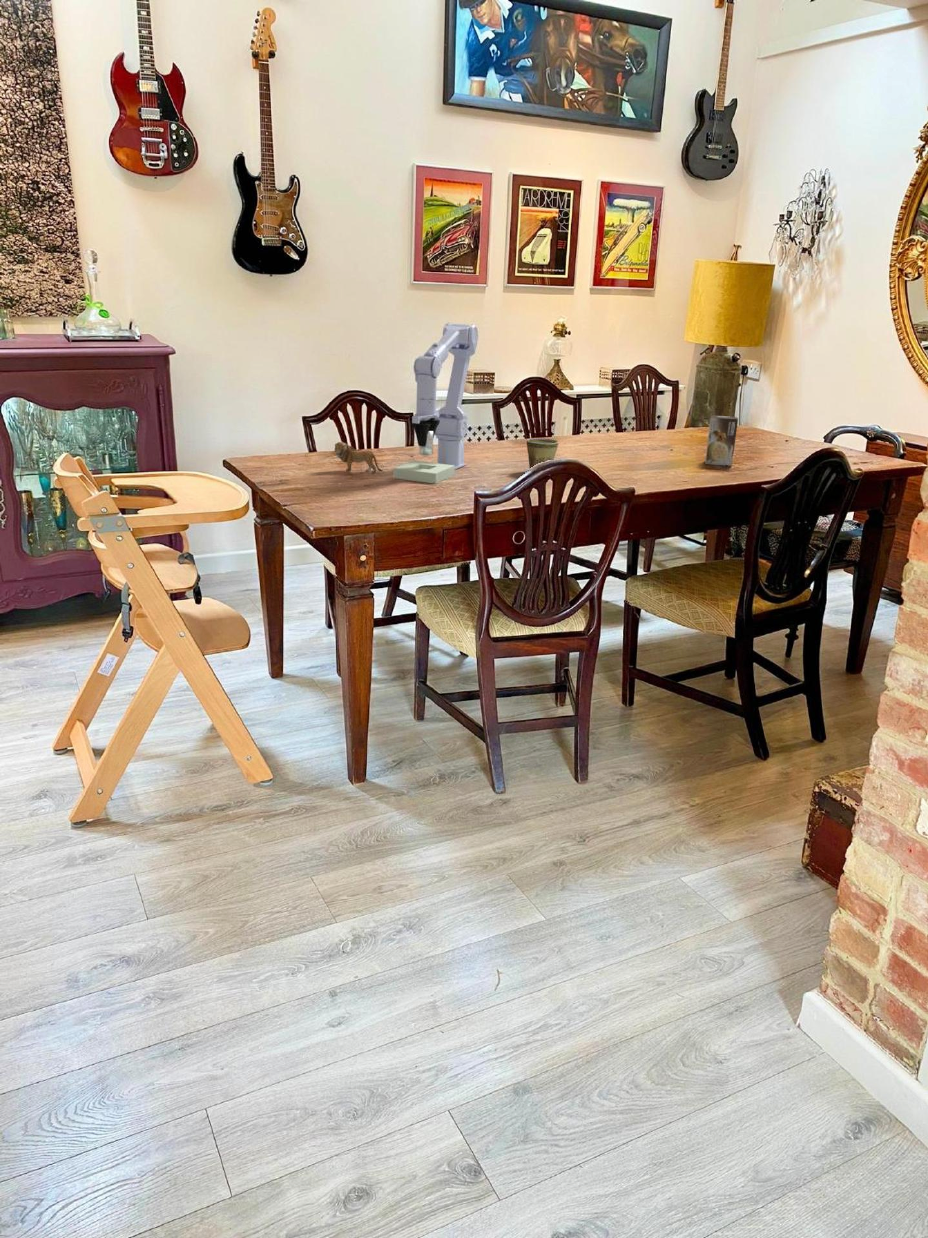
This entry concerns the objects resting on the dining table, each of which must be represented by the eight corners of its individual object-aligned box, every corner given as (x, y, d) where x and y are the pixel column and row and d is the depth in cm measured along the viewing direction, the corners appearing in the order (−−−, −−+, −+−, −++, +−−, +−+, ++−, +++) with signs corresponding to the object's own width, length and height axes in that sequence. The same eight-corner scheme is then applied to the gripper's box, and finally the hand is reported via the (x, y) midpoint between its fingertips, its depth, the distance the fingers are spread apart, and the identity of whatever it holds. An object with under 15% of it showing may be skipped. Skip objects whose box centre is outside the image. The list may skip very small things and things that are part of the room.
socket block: (413, 469, 273) (414, 460, 272) (454, 475, 268) (455, 465, 267) (393, 477, 261) (393, 467, 260) (435, 483, 256) (436, 473, 255)
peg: (421, 452, 264) (422, 429, 262) (434, 453, 263) (435, 430, 261) (417, 454, 261) (418, 431, 258) (430, 456, 260) (430, 432, 257)
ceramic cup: (554, 476, 272) (556, 444, 269) (522, 474, 274) (524, 442, 270) (558, 468, 284) (560, 437, 281) (528, 466, 286) (530, 435, 282)
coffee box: (731, 463, 306) (738, 416, 301) (731, 466, 301) (739, 419, 295) (704, 460, 308) (710, 414, 302) (704, 464, 302) (711, 417, 297)
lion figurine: (333, 472, 265) (332, 442, 262) (335, 469, 270) (335, 439, 267) (381, 474, 265) (381, 444, 262) (383, 471, 270) (383, 441, 267)
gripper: (428, 402, 249) (427, 449, 254) (448, 397, 261) (447, 442, 266) (406, 400, 251) (405, 447, 256) (427, 395, 264) (426, 440, 269)
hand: (425, 444), depth 261 cm, fingers closed on peg, 4 cm apart
